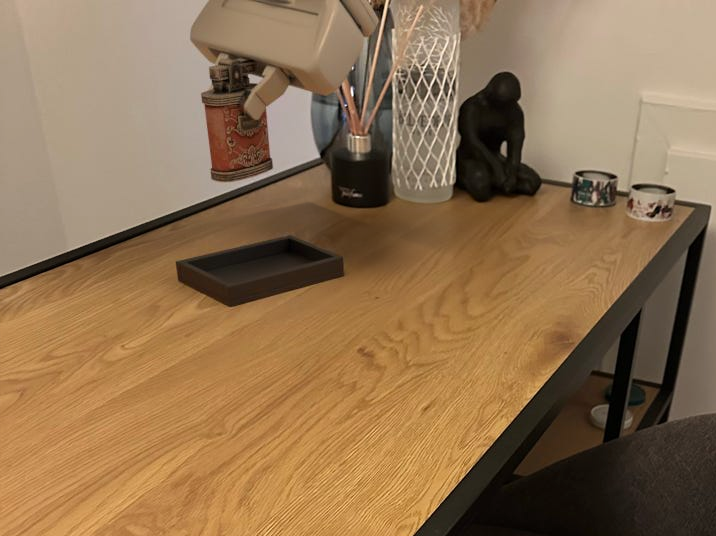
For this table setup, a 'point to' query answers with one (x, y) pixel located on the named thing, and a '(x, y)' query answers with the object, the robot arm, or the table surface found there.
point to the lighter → (234, 124)
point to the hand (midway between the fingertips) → (230, 109)
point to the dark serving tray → (259, 269)
